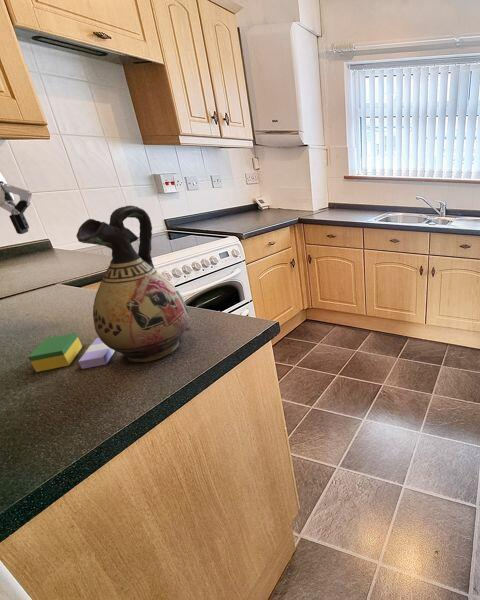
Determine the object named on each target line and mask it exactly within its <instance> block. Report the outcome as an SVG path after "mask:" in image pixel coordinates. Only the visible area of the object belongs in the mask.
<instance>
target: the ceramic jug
mask: <svg viewBox="0 0 480 600" xmlns="http://www.w3.org/2000/svg"><path fill="white" fill-rule="evenodd" d="M128 218H132V219H136V220H138V223H139V237H138V236H137V235H136V234H135V233H134V232H133V231H132V230H131V229H129V228H128V227H125V224H124V222H125V220H126V219H128ZM152 237H153V224H152V220H151V217H150V216H149V214H148V213H147V212H146V211H145V210H144V209H143V208H141V207H139V206H136V205H125V206H121V207H118V208H116V209H115V210H113V211H112V212H111V214H110V217H109V223H107V222H105V221H99V220H96V219H95V218H88V219H86V220H84V222H82V223H81V225H80V226H79V227H78V230H77V233H76V239H77V242H79V243H82V244H89V245H97V246H103V247H106V248H108V249H110V250H111V257H112V258H111V260H110V262H109V265H108V267H107V269H106V271H105V273H104V274H103V276H102V279H101V281H100V283H99V286H98V289H97V291H96V293H95V296H94V301H93V306H92V318H93V327H94V330H95V333H96V334H97V337H98V338H100V340H101V341H102V342H103V343H104V344H105V345H106V346H108V347H109V348H111V349H113V350H115V352H117V353H119V354H122V355H124V356H125V357H126V358H127V360H128V362H130V363H136V362H137V363H147V362H152V361H155V360H159V359H162V358H163V357H166V356H168V355H170V354H171V353H173V352H175V350H177V348H178V347H179V344H180V342H179V341H180V338H181V337H182V335H183V334H184V332H185V331H186V330H187V327H188V324H189V320H190V319H189V310H188V306H187V303H186V301H185V300H184V298H183V296H182V294H181V292H180V291H179V290H178V289H177V288H176V286H175V285H174V284H173V283H172V282H171V281H170V280H168V278H167V277H165V276H164V275H163V274H162V273H161V272H159V271H158V270H157V269H156V268H155V265H154V263H153V259H152V258H153V257H152V255H151V254H152V250H153V249H152V239H153V238H152ZM136 241H139V244H138V252H137V251H136V250H135V248H134V247H133V245H132V243H135V242H136Z"/></svg>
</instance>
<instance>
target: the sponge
mask: <svg viewBox="0 0 480 600" xmlns="http://www.w3.org/2000/svg"><path fill="white" fill-rule="evenodd" d="M82 348H83V345H82V343H81V340H80V339H79V336H78V333H77V332H73V333H68V334H62V335H57V336H56V335H55V336H51V337H45V338H44V339H43V340H42V342H40V344H38V346H37V347H36V348H35V349H34V350H33V351H31V353H30V354H29V355H28V356H27V358H28V360H29V361H30V363H31V365H32V367H33V369H34V371H35V372H36V373H38V372H44V371H48V370H53V369H54V370H55V369H58V368H63V367H68V366H70V365H71V363H72V362H73V361H74V359H75V358H76V357H77V355H78V354H79V352H80V351H81V350H82Z"/></svg>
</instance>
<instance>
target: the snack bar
mask: <svg viewBox="0 0 480 600" xmlns="http://www.w3.org/2000/svg"><path fill="white" fill-rule="evenodd" d="M115 352H116V351H115V350H113V349H111V348H109V347H108V346H106V345H105V344H104V343H103V342H102V341H101V340H100V338H99V337H96V338H95V339H94V340H93V341H92V343H91V344H90V345H89V346H88V348H87V349H86V350H85V351H84V353H83V355H82V356H81V357H80V358H79V360H78V362H77V363H78V364H79V366H80V368H81V370H84V369H89V368H94V367H100V366H104V365H108V363H109V361H110V359H111V358H112V356H113V355H114V354H115Z"/></svg>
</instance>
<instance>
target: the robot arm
mask: <svg viewBox="0 0 480 600" xmlns="http://www.w3.org/2000/svg"><path fill="white" fill-rule="evenodd" d="M32 194H33V193H32V192H31V191H30V190H27V189H24V188H20V187H17V186H15V185H11V184H9V183H8V182H7V181H6V179H5V177H4V176H3V174H2V172H1V171H0V208H2V209H3V210H5V211H7V212H8V213H9V219H10V222H11V223H12V225H13V227H14V230H15V232H16V233H17V234H18V235H23V234H26V233H29V229H30V226H29V223H28V221H27V218H26V216H25V214H24V213H25V212H26V210H27V209H28V208H29V206H30V205H31V200H32ZM14 195H17V196H18V197H19V200H18V202H17V203H16V202H14V201H15V196H14Z"/></svg>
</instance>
